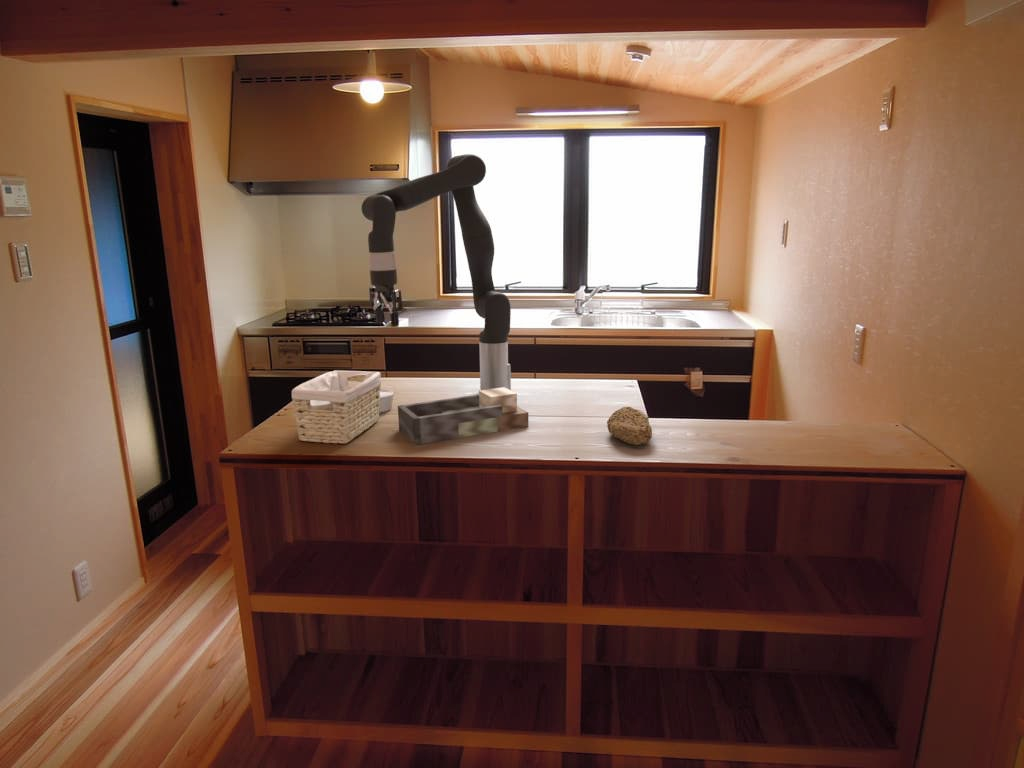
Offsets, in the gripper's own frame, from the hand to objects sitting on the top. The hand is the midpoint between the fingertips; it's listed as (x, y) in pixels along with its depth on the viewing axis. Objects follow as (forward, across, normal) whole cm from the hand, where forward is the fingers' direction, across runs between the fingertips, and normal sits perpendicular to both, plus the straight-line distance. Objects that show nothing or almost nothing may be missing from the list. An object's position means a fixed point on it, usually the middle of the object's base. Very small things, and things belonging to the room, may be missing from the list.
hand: (387, 324), depth 200 cm
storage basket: (+27, -6, +20) cm, 34 cm away
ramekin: (+27, +6, +3) cm, 28 cm away
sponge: (+28, -62, -35) cm, 77 cm away
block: (+23, -29, -17) cm, 41 cm away
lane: (+27, -27, -6) cm, 38 cm away
